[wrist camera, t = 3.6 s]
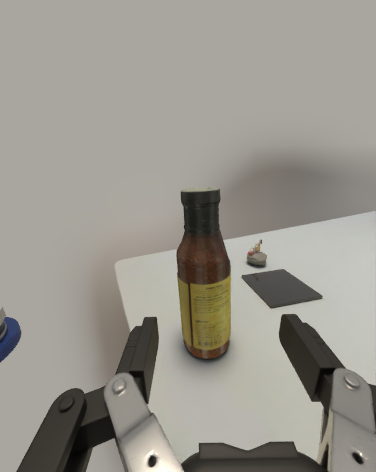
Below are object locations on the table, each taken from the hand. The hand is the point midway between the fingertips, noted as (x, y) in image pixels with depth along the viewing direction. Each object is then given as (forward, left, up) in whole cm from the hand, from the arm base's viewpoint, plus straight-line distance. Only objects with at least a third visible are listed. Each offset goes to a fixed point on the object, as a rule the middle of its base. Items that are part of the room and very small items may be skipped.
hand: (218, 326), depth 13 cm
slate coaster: (+15, +22, -12) cm, 29 cm away
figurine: (+14, +32, -12) cm, 37 cm away
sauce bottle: (0, +10, -12) cm, 16 cm away
